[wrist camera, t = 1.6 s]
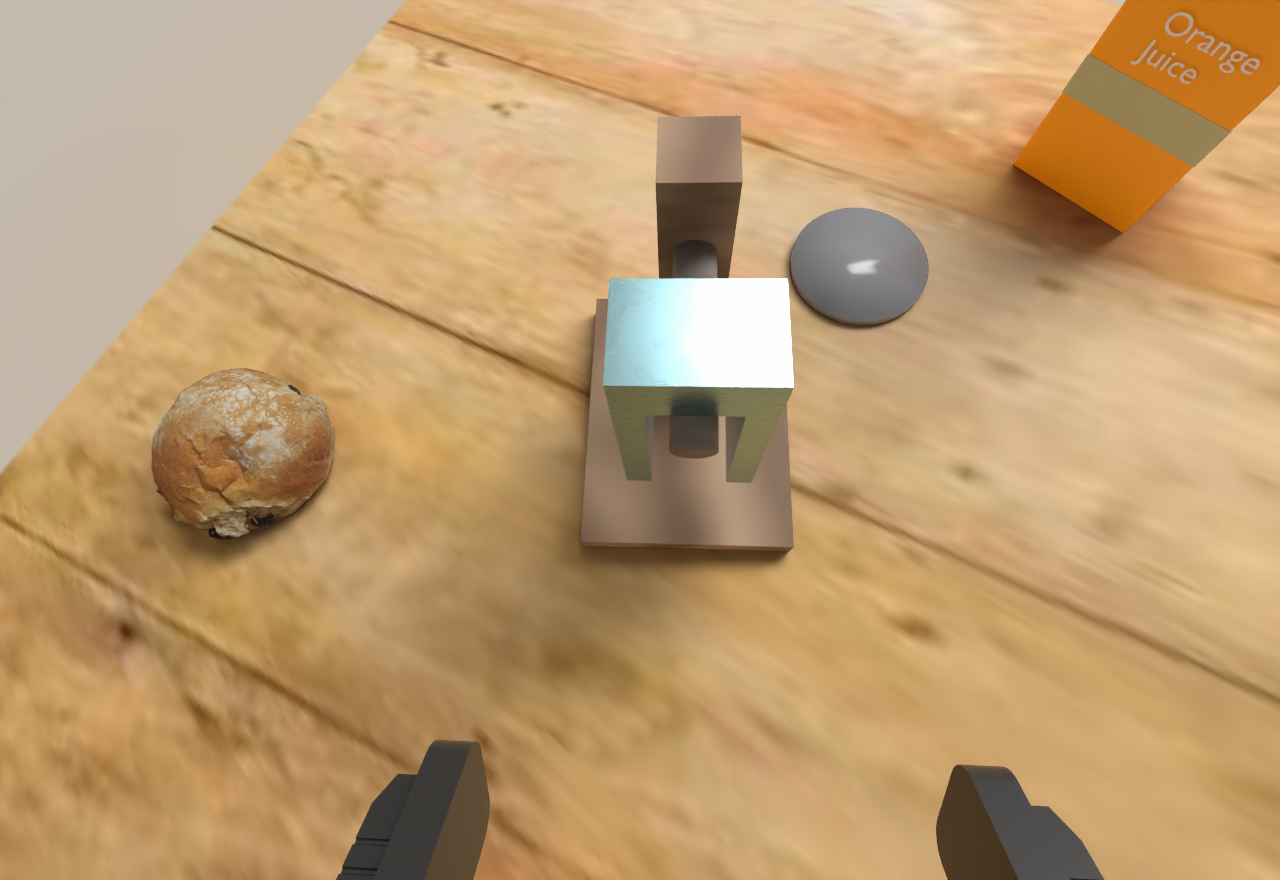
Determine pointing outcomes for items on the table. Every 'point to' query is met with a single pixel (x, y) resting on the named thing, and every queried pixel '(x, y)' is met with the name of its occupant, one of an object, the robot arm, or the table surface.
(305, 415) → the bread roll
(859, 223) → the coaster
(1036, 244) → the table surface
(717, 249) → the stand
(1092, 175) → the orange juice
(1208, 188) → the table surface
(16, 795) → the table surface
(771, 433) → the c link
